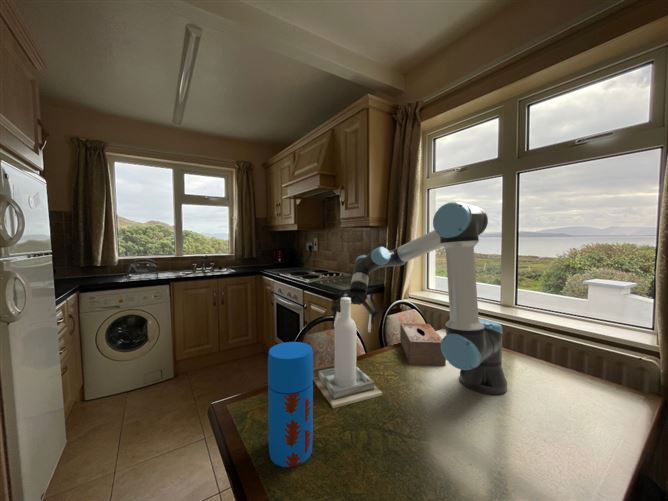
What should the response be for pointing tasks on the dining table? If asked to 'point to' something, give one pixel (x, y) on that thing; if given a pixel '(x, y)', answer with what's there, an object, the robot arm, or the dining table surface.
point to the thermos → (290, 403)
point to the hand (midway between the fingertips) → (351, 329)
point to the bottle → (345, 346)
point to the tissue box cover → (421, 344)
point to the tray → (344, 395)
